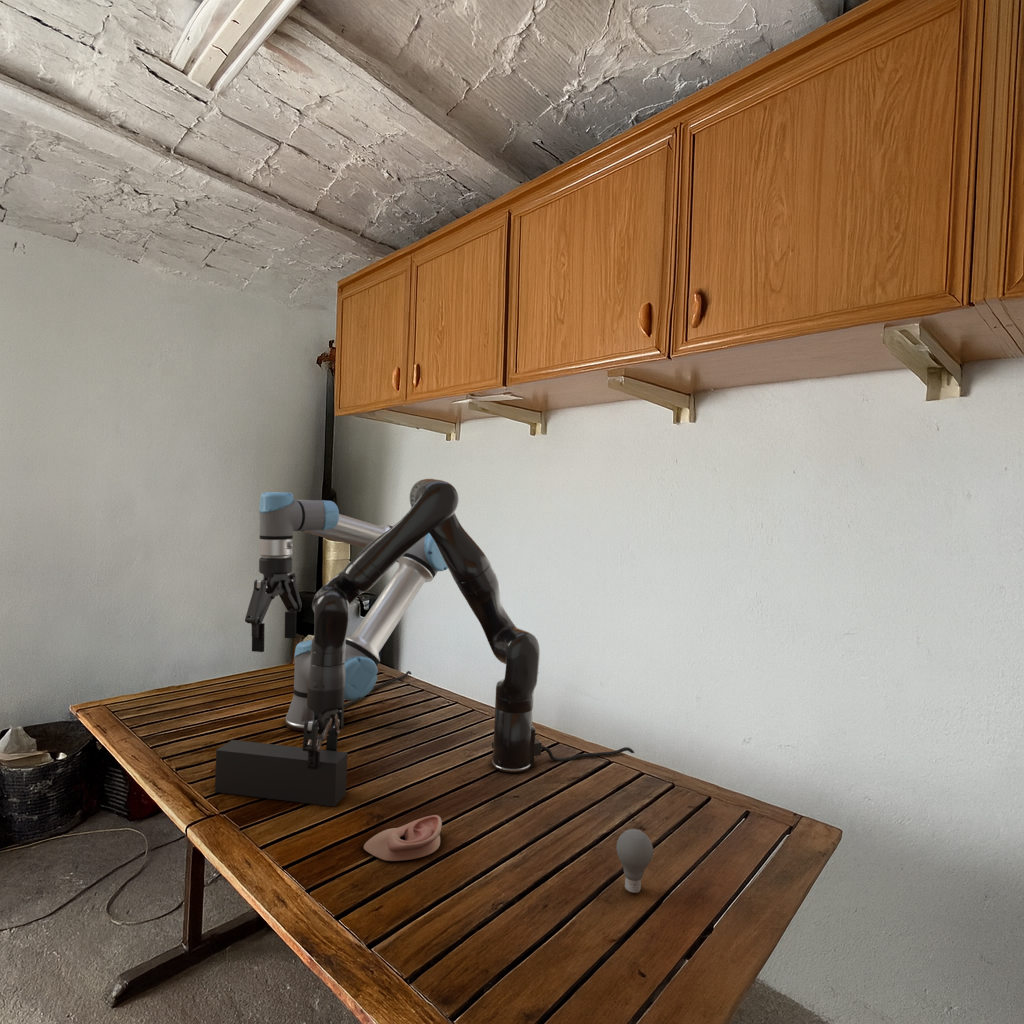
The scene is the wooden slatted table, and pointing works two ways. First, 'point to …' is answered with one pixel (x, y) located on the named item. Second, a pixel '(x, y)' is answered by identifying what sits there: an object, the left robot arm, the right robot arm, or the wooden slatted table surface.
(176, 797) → the wooden slatted table surface
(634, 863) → the light bulb
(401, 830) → the anatomical model
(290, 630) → the left robot arm
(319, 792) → the bar
